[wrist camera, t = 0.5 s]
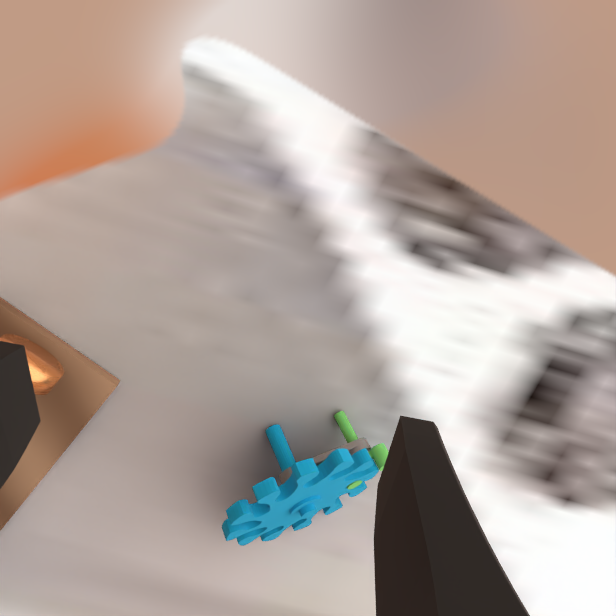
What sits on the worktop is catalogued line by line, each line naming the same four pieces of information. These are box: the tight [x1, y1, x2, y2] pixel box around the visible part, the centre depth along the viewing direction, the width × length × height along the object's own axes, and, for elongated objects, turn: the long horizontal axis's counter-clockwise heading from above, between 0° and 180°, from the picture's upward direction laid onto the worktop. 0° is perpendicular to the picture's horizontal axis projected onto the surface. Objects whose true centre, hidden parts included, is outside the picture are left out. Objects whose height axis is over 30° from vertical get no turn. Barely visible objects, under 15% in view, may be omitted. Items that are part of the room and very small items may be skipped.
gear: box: [222, 411, 389, 545], centre depth 34 cm, size 11×6×10 cm
